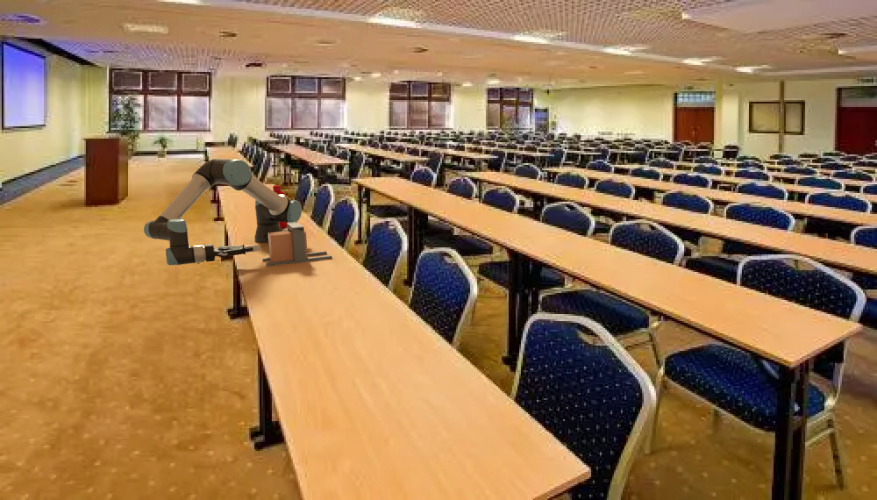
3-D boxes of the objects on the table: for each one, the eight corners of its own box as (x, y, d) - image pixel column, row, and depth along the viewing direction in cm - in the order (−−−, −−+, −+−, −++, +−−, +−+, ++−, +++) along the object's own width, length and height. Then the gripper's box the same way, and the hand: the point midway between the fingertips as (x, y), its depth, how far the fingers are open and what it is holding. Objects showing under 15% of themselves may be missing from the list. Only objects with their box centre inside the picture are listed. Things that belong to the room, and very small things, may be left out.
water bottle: (292, 226, 363) (289, 184, 357) (282, 229, 353) (278, 186, 347) (279, 225, 366) (276, 183, 360) (268, 229, 356) (265, 186, 350)
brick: (272, 263, 277) (270, 235, 274) (270, 260, 283) (267, 232, 280) (307, 259, 284) (306, 232, 281) (304, 256, 290) (302, 229, 287)
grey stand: (267, 266, 273) (264, 230, 270) (262, 260, 285) (259, 225, 281) (332, 258, 286) (330, 224, 282) (325, 253, 297) (323, 219, 293)
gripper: (204, 258, 274) (258, 252, 283) (206, 265, 262) (263, 258, 272) (202, 242, 272) (257, 237, 282) (204, 248, 261) (261, 242, 270)
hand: (259, 247), depth 277 cm, fingers closed
